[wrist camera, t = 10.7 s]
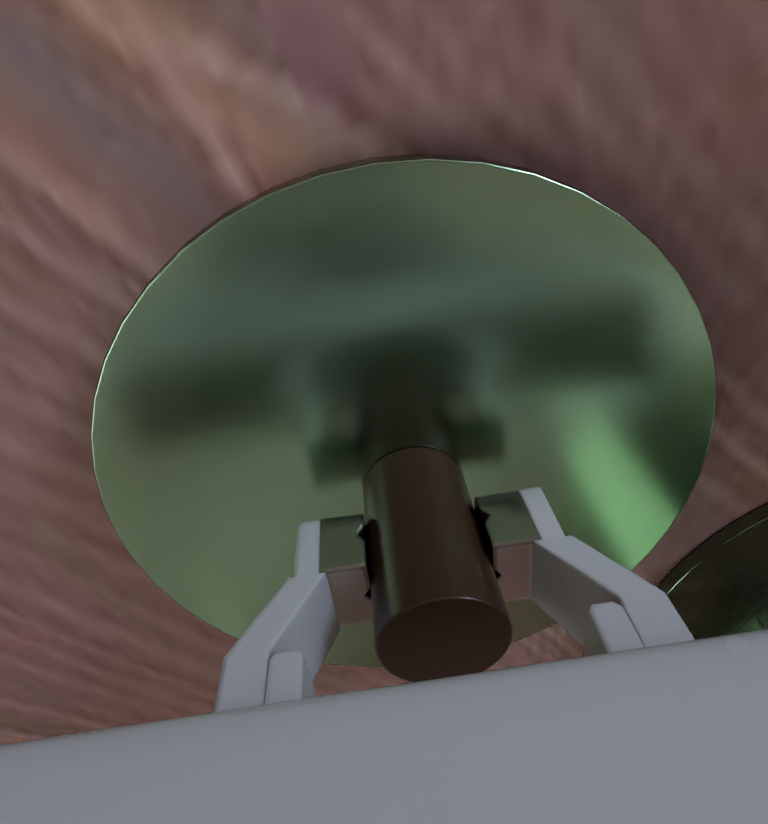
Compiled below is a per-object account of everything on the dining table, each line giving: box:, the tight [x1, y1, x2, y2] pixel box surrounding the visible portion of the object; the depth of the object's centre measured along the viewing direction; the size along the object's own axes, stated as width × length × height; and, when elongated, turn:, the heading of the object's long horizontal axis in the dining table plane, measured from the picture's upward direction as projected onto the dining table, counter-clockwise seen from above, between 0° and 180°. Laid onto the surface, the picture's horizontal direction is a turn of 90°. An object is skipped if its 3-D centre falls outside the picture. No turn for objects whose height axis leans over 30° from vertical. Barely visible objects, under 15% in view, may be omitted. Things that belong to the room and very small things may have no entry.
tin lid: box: [91, 154, 716, 682], centre depth 13 cm, size 15×15×6 cm
